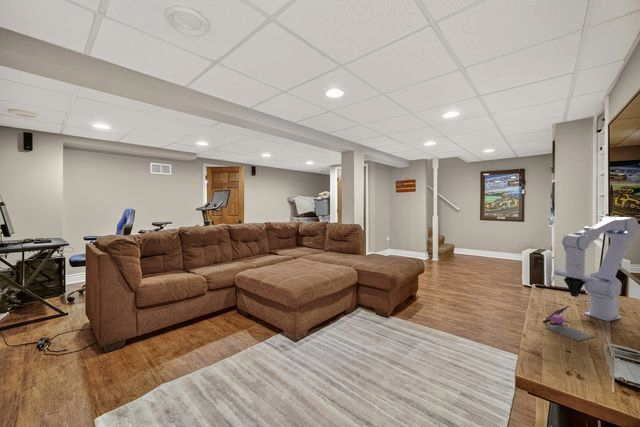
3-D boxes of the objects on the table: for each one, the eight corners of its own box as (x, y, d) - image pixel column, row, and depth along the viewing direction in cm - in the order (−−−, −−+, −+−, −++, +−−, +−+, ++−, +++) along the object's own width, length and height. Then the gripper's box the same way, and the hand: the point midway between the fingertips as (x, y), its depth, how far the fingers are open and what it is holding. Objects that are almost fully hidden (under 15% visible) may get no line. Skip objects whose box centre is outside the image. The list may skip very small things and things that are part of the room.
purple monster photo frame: (554, 308, 108) (540, 320, 113) (567, 320, 104) (552, 332, 110) (565, 304, 110) (551, 316, 115) (578, 316, 106) (562, 327, 112)
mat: (560, 324, 109) (560, 323, 109) (595, 337, 99) (595, 336, 99) (544, 327, 107) (544, 327, 107) (578, 341, 96) (578, 340, 96)
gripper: (548, 261, 117) (548, 291, 118) (590, 268, 103) (589, 303, 104) (560, 259, 119) (559, 290, 120) (602, 266, 105) (601, 301, 106)
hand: (574, 296), depth 112 cm, fingers closed
